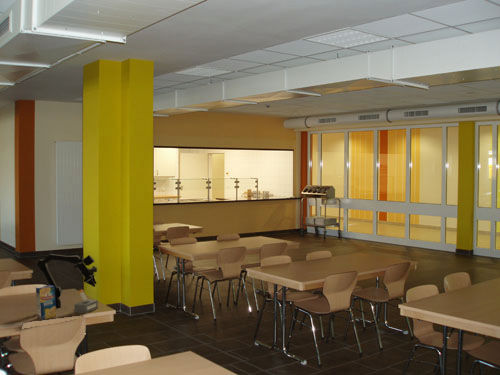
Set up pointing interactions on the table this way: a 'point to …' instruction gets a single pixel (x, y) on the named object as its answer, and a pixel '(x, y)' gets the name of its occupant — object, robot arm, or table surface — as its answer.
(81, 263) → the robot arm
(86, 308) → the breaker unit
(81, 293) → the breaker lever
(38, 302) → the blue cracker box
